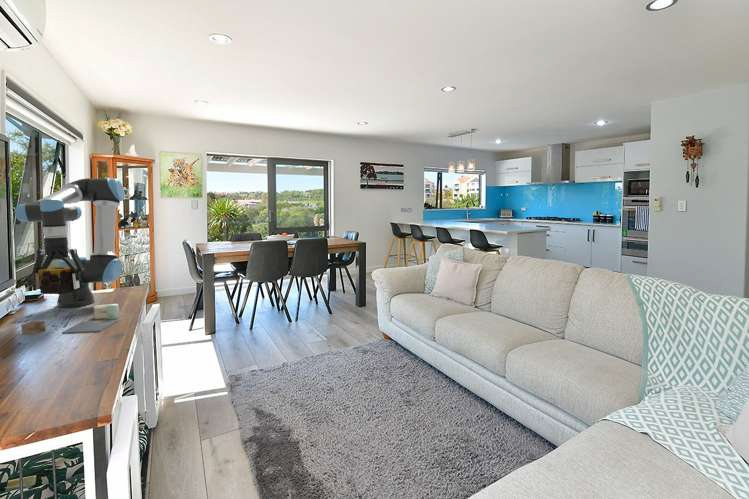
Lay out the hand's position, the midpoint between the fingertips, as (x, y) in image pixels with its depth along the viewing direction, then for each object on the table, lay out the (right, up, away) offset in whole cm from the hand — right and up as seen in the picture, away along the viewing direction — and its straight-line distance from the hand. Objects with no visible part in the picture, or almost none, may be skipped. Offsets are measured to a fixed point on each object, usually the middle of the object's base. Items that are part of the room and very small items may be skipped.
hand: (61, 288), depth 169 cm
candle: (0, -1, 0) cm, 1 cm away
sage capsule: (+16, -14, +10) cm, 23 cm away
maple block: (+9, -14, +12) cm, 20 cm away
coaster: (+14, -15, -3) cm, 21 cm away
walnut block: (-4, -17, -8) cm, 19 cm away
